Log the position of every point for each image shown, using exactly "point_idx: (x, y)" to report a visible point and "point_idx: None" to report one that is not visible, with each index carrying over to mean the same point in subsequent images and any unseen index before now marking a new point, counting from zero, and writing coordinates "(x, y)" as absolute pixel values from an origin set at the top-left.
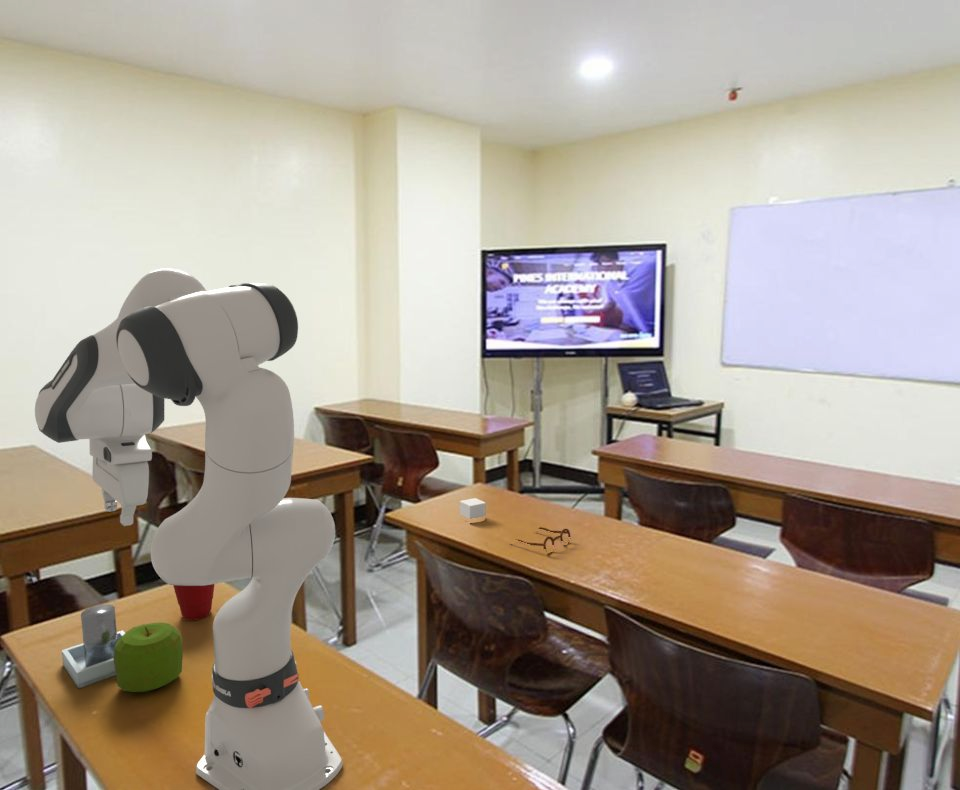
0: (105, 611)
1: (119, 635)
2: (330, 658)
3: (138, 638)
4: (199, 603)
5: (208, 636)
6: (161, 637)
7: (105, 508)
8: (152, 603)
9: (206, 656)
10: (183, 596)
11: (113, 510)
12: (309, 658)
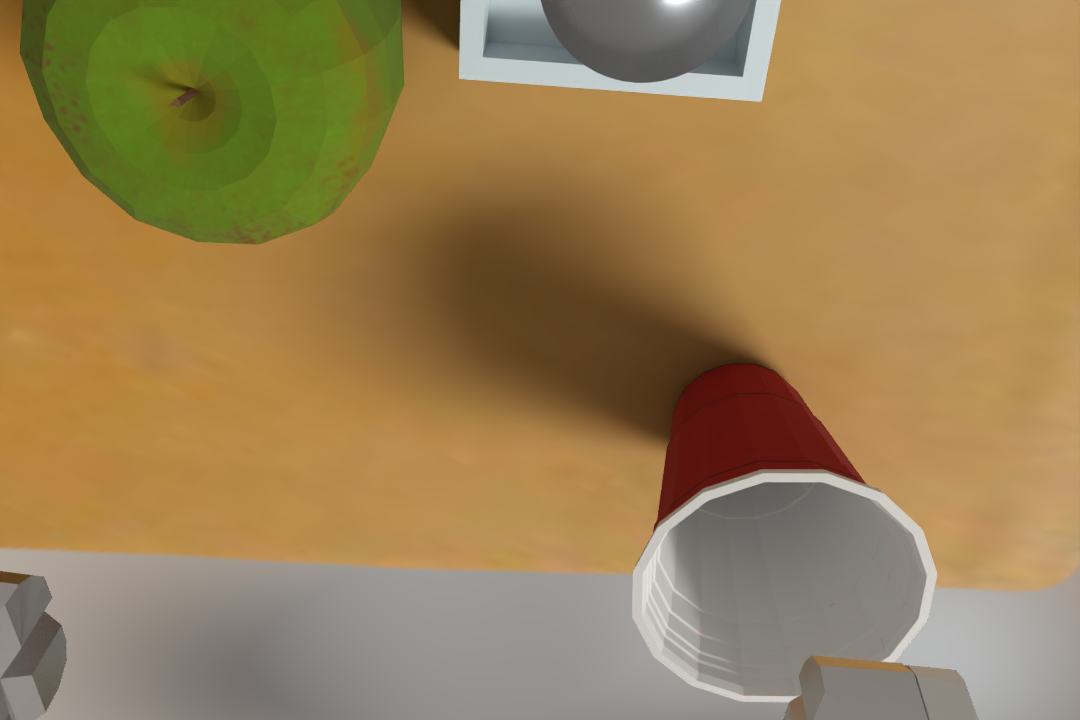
0: (598, 9)
1: (741, 71)
2: (15, 537)
3: (130, 28)
4: (668, 451)
5: (497, 358)
6: (81, 131)
7: (907, 686)
8: (1034, 339)
9: (333, 279)
10: (716, 431)
11: (794, 713)
12: (58, 499)
